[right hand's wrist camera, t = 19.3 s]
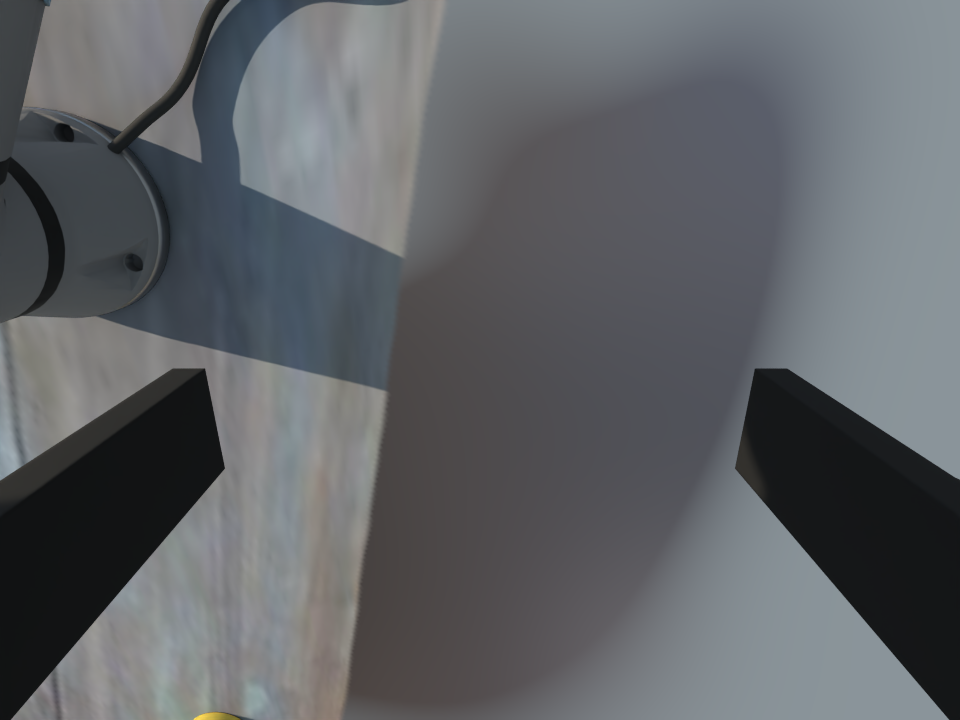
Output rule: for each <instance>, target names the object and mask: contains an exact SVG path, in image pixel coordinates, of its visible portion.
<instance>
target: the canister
mask: <svg viewBox="0 0 960 720" xmlns="http://www.w3.org/2000/svg"><path fill="white" fill-rule="evenodd" d="M194 720H241V719H239V718H237V717H235V716H233V715H230V714H226V713H219V712H212V713H206V714H202V715H200V716H198V717H196V718H195V719H194Z"/></svg>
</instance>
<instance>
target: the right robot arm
mask: <svg viewBox="0 0 960 720" xmlns="http://www.w3.org/2000/svg"><path fill="white" fill-rule="evenodd" d="M228 1H229V0H210V1H209V3H208V4H207V6H206V8H205V10H204V12H203V14H202V16H201V18H200V21H199V23H198V26H197V29H196V32H195V35H194V38H193V41H192V44H191V47H190V50H189V53H188V56H187V59H186V61H185V64H184V66H183V68H182V70H181V72H180V74H179V76H178V78H177V79H176V81H175V82H174V84H173V85H172V87H171V88H170V89H169V90H168V92H167V93H166V94H165V95H164V96H163V97H162V98H161V99H159V100H158V101H157V102H156V103H155V104H153V105H152V106H151V107H150V108H148V109H147V110H146V111H145V112H143V113H142V114H141V115H140V116H139V117H138V118H137V119H135V120H134V121H133V122H132V123H131V124H130V125H129V126H128V127H127V128H126V129H125V130H124V131H122V132H121V133H120V134H119V135H118V136H117V137H115V136H113V135H112V134H111V133H109V132H108V131H106V130H105V129H103V128H102V127H100V126H98V125H96V124H94V123H93V122H91V121H88V120H86V119H84V118H82V117H79V116H76V115H73V114H70V113H66V112H62V111H57V110H50V109H43V108H36V107H22V106H23V102H24V98H25V93H26V89H27V84H28V80H29V75H30V71H31V66H32V62H33V57H34V53H35V48H36V44H37V40H38V35H39V31H40V26H41V22H42V17H43V13H44V8H45V6H50V3H51V0H0V323H2V322H5V321H8V320H10V319H14V318H17V317H20V316H41V317H66V318H83V317H91V316H98V315H103V314H107V313H111V312H113V311H116V310H118V309H121V308H123V307H126V306H129V305H130V304H132V303H134V302H136V301H138V300H139V299H141V298H142V297H143V296H144V295H146V294H147V293H148V292H149V291H150V290H151V289H152V287H153V286H154V285H155V284H156V282H157V281H158V279H159V278H160V276H161V274H162V272H163V269H164V267H165V264H166V261H167V257H168V251H169V238H170V236H169V224H168V218H167V214H166V210H165V206H164V203H163V201H162V198H161V195H160V193H159V191H158V189H157V187H156V185H155V183H154V181H153V179H152V177H151V176H150V174H149V173H148V171H147V170H146V168H145V167H144V166H143V164H142V163H141V162H140V161H139V159H138V158H137V157H136V156H135V155H134V154H133V153H132V152H131V150H130V149H128V148H127V146H128V145H129V144H130V143H131V142H133V141H134V140H135V139H136V138H137V137H138V136H139V135H140V134H141V133H142V132H143V131H144V130H146V129H147V128H148V127H149V126H150V125H151V124H152V123H153V122H155V121H156V120H157V119H158V118H160V117H161V116H162V115H163V114H165V113H166V112H167V111H168V110H169V109H171V108H172V107H173V106H174V105H175V104H176V103H177V102H178V101H179V100H180V98H181V97H182V96H183V94H184V93H185V92H186V90H187V89H188V87H189V86H190V84H191V82H192V80H193V78H194V76H195V74H196V72H197V70H198V67H199V64H200V62H201V59H202V56H203V53H204V50H205V47H206V44H207V41H208V38H209V36H210V33H211V30H212V28H213V25H214V23H215V21H216V19H217V17H218V15H219V13H220V12H221V10H222V9H223V7H224V6H225V5H226V4H227V3H228ZM224 469H225V467H224V462H223V457H222V451H221V446H220V441H219V436H218V431H217V426H216V421H215V416H214V411H213V406H212V401H211V396H210V391H209V386H208V381H207V376H206V371H205V369H172V370H170V371H168V372H167V373H165V374H164V375H162V376H161V377H159V378H158V379H156V380H155V381H153V382H152V383H150V384H148V385H147V386H145V387H144V388H142V389H141V390H139V391H138V392H136V393H135V394H133V395H132V396H130V397H128V398H127V399H125V400H124V401H122V402H121V403H119V404H118V405H116V406H115V407H113V408H111V409H110V410H108V411H107V412H105V413H104V414H102V415H101V416H99V417H98V418H96V419H95V420H93V421H91V422H90V423H88V424H87V425H85V426H84V427H82V428H81V429H79V430H78V431H76V432H75V433H73V434H71V435H70V436H68V437H67V438H65V439H64V440H62V441H61V442H59V443H58V444H56V445H55V446H53V447H51V448H50V449H48V450H47V451H45V452H44V453H42V454H41V455H39V456H38V457H36V458H34V459H33V460H31V461H30V462H28V463H27V464H25V465H24V466H22V467H21V468H19V469H18V470H16V471H14V472H13V473H11V474H10V475H8V476H7V477H5V478H4V479H2V480H1V481H0V720H11V719H12V718H13V716H14V715H15V714H16V713H17V712H18V711H19V709H20V708H21V707H22V706H23V705H24V704H25V702H26V701H27V700H28V699H29V698H30V697H31V695H32V694H33V693H34V692H35V691H36V690H37V688H38V687H39V686H40V685H41V684H42V682H43V681H44V680H45V679H46V678H47V677H48V675H49V674H50V673H51V672H52V671H53V670H54V668H55V667H56V666H57V665H58V664H59V663H60V661H61V660H62V659H63V658H64V657H65V655H66V654H67V653H68V652H69V651H70V650H71V648H72V647H73V646H74V645H75V644H76V643H77V641H78V640H79V639H80V638H81V637H82V636H83V634H84V633H85V632H86V631H87V630H88V628H89V627H90V626H91V625H92V624H93V623H94V621H95V620H96V619H97V618H98V617H99V616H100V614H101V613H102V612H103V611H104V610H105V609H106V607H107V606H108V605H109V604H110V603H111V602H112V600H113V599H114V598H115V597H116V596H117V594H118V593H119V592H120V591H121V590H122V589H123V587H124V586H125V585H126V584H127V583H128V582H129V580H130V579H131V578H132V577H133V576H134V575H135V573H136V572H137V571H138V570H139V569H140V567H141V566H142V565H143V564H144V563H145V562H146V560H147V559H148V558H149V557H150V556H151V555H152V553H153V552H154V551H155V550H156V549H157V548H158V546H159V545H160V544H161V543H162V542H163V541H164V539H165V538H166V537H167V536H168V535H169V533H170V532H171V531H172V530H173V529H174V528H175V526H176V525H177V524H178V523H179V522H180V521H181V519H182V518H183V517H184V516H185V515H186V514H187V512H188V511H189V510H190V509H191V508H192V506H193V505H194V504H195V503H196V502H197V501H198V499H199V498H200V497H201V496H202V495H203V494H204V492H205V491H206V490H207V489H208V488H209V487H210V485H211V484H212V483H213V482H214V481H215V480H216V478H217V477H218V476H219V475H220V474H221V472H222V471H223V470H224ZM735 469H736V470H737V471H738V472H739V474H740V475H741V476H742V477H743V478H744V480H745V481H746V482H747V483H748V484H749V485H750V487H751V488H752V489H753V490H754V491H755V492H756V494H757V495H758V496H759V497H760V498H761V499H762V501H763V502H764V503H765V504H766V505H767V506H768V508H769V509H770V510H771V511H772V512H773V513H774V515H775V516H776V517H777V518H778V519H779V521H780V522H781V523H782V524H783V525H784V526H785V528H786V529H787V530H788V531H789V532H790V533H791V535H792V536H793V537H794V538H795V539H796V540H797V542H798V543H799V544H800V545H801V546H802V548H803V549H804V550H805V551H806V552H807V553H808V555H809V556H810V557H811V558H812V559H813V560H814V562H815V563H816V564H817V565H818V566H819V567H820V569H821V570H822V571H823V572H824V573H825V575H826V576H827V577H828V578H829V579H830V580H831V582H832V583H833V584H834V585H835V586H836V587H837V589H838V590H839V591H840V592H841V593H842V594H843V596H844V597H845V598H846V599H847V600H848V602H849V603H850V604H851V605H852V606H853V607H854V609H855V610H856V611H857V612H858V613H859V614H860V616H861V617H862V618H863V619H864V620H865V621H866V623H867V624H868V625H869V626H870V627H871V628H872V630H873V631H874V632H875V633H876V634H877V636H878V637H879V638H880V639H881V640H882V641H883V643H884V644H885V645H886V646H887V647H888V648H889V650H890V651H891V652H892V653H893V654H894V655H895V657H896V658H897V659H898V660H899V661H900V663H901V664H902V665H903V666H904V667H905V668H906V670H907V671H908V672H909V673H910V674H911V675H912V677H913V678H914V679H915V680H916V681H917V682H918V684H919V685H920V686H921V687H922V688H923V689H924V691H925V692H926V693H927V694H928V695H929V696H930V698H931V699H932V700H933V701H934V702H935V704H936V705H937V706H938V707H939V708H940V709H941V711H942V712H943V713H944V714H945V715H946V716H947V718H948V719H949V720H960V480H959V479H957V478H955V477H953V476H952V475H950V474H949V473H947V472H945V471H944V470H942V469H941V468H939V467H938V466H936V465H935V464H933V463H932V462H930V461H929V460H927V459H926V458H924V457H922V456H921V455H919V454H918V453H916V452H915V451H913V450H912V449H910V448H909V447H907V446H905V445H904V444H902V443H901V442H899V441H898V440H896V439H895V438H893V437H892V436H890V435H889V434H887V433H885V432H884V431H882V430H881V429H879V428H878V427H876V426H875V425H873V424H872V423H870V422H868V421H867V420H865V419H864V418H862V417H861V416H859V415H858V414H856V413H855V412H853V411H852V410H850V409H849V408H847V407H845V406H844V405H842V404H841V403H839V402H838V401H836V400H835V399H833V398H832V397H830V396H828V395H827V394H825V393H824V392H822V391H821V390H819V389H818V388H816V387H815V386H813V385H812V384H810V383H808V382H807V381H805V380H804V379H802V378H801V377H799V376H798V375H796V374H795V373H793V372H792V371H790V370H788V369H755V371H754V376H753V381H752V386H751V391H750V396H749V401H748V406H747V411H746V416H745V421H744V426H743V431H742V437H741V441H740V446H739V451H738V457H737V462H736V467H735Z"/></svg>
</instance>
